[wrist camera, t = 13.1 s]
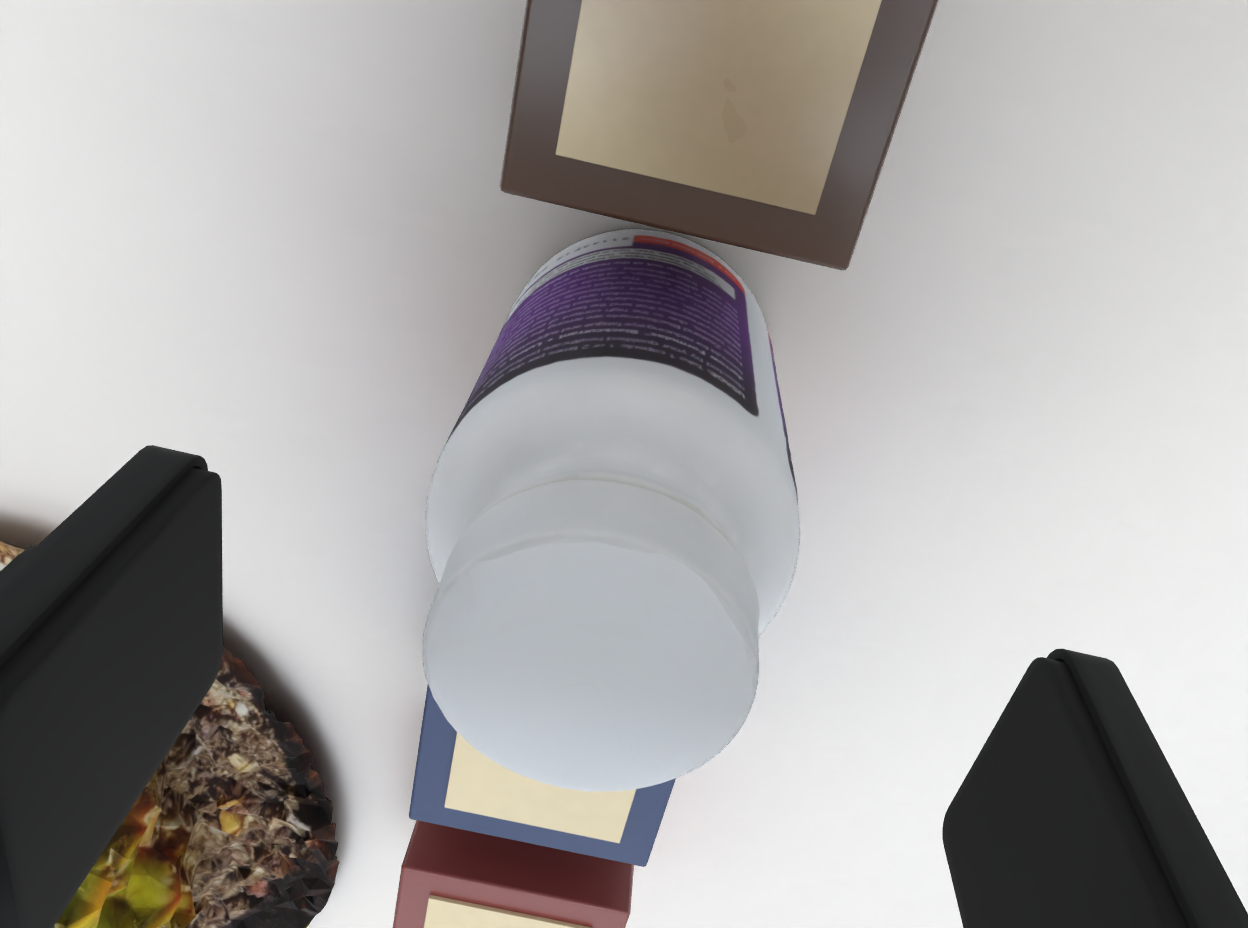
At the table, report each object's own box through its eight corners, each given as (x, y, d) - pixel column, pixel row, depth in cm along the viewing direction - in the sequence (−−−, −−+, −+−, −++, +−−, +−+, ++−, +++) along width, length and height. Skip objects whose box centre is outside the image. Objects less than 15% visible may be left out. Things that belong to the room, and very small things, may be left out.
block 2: (454, 702, 25) (400, 871, 20) (643, 741, 25) (630, 917, 20) (433, 830, 27) (380, 1006, 23) (605, 865, 27) (586, 1047, 23)
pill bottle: (455, 314, 19) (263, 609, 11) (679, 168, 18) (658, 383, 9) (603, 508, 21) (538, 884, 13) (819, 393, 20) (905, 741, 11)
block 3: (602, -193, 15) (559, -246, 11) (906, -119, 15) (989, -140, 11) (549, 128, 18) (496, 194, 13) (812, 190, 18) (848, 275, 13)
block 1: (489, 491, 22) (433, 636, 17) (705, 539, 22) (705, 694, 17) (461, 658, 24) (406, 823, 19) (656, 699, 24) (645, 873, 20)
